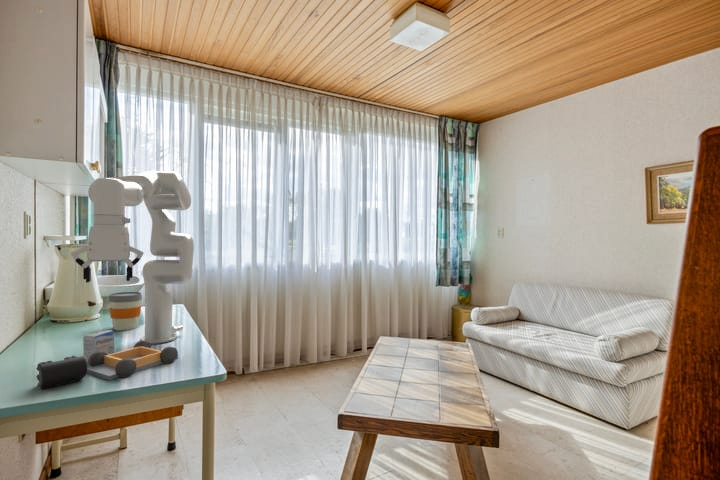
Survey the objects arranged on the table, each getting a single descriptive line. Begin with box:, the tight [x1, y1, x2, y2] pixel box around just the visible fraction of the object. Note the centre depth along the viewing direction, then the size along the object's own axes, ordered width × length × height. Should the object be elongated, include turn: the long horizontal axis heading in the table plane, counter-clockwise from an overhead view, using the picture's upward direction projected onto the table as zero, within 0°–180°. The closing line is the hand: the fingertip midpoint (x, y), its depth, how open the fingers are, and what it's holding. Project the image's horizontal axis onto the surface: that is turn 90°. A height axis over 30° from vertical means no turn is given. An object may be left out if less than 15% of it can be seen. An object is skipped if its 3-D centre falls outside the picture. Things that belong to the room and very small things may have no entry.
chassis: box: [86, 340, 179, 381], centre depth 120 cm, size 22×16×5 cm
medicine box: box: [82, 329, 115, 363], centre depth 126 cm, size 8×4×9 cm, turn 168°
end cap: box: [36, 355, 88, 390], centre depth 105 cm, size 10×7×7 cm
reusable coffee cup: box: [108, 291, 143, 331], centre depth 167 cm, size 13×13×15 cm
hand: (108, 281), depth 108 cm, fingers open, 9 cm apart
